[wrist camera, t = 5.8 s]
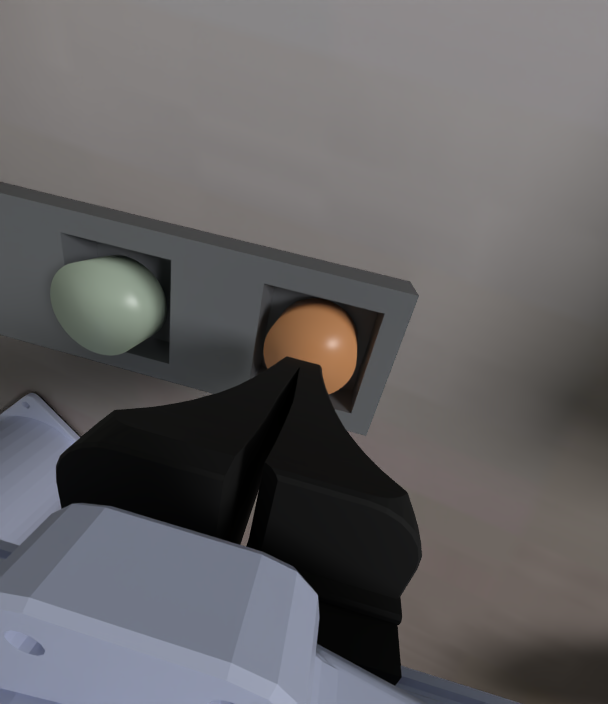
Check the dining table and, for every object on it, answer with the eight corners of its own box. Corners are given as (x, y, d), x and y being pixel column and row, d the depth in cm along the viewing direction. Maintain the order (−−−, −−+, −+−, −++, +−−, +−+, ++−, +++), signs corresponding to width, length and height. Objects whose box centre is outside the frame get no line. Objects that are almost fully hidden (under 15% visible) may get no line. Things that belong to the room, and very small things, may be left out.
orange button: (269, 363, 16) (257, 383, 15) (282, 288, 15) (271, 300, 13) (345, 384, 16) (342, 406, 14) (368, 310, 14) (368, 325, 13)
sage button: (91, 327, 16) (57, 342, 14) (83, 245, 14) (43, 251, 13) (166, 347, 16) (141, 365, 14) (167, 266, 14) (139, 275, 12)
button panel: (-46, 295, 19) (-100, 307, 17) (-85, 161, 16) (-158, 154, 14) (365, 406, 18) (365, 435, 15) (410, 281, 14) (418, 295, 12)
